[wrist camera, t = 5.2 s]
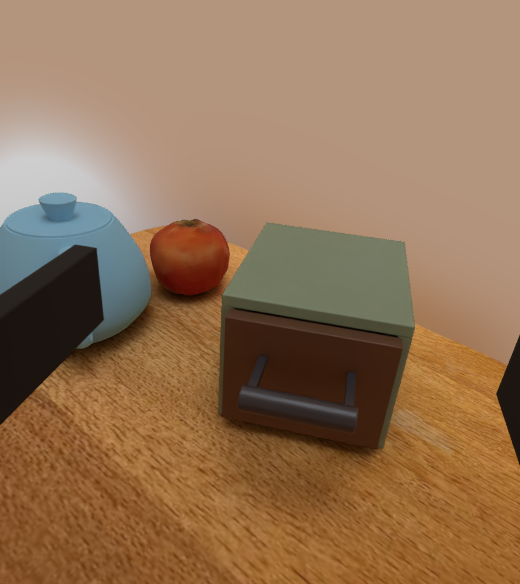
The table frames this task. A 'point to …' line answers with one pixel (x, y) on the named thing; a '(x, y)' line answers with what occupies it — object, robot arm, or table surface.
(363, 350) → the drawer
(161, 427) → the table surface
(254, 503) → the table surface
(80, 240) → the teapot
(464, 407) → the table surface
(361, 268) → the cabinet
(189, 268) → the tomato
